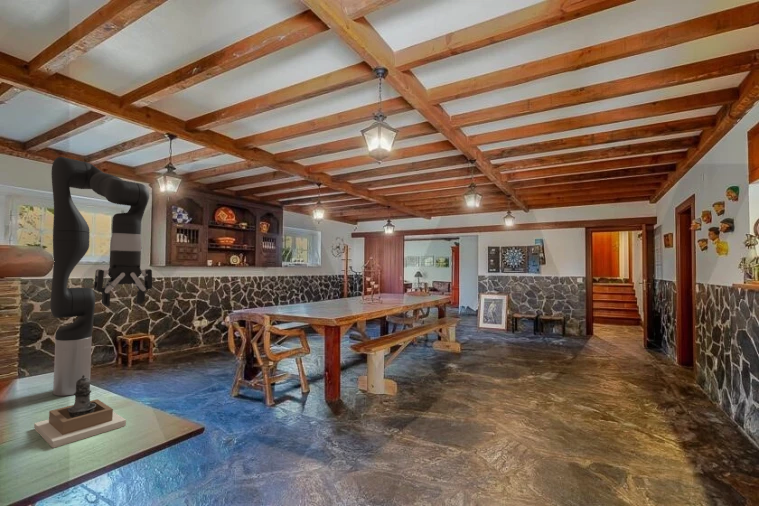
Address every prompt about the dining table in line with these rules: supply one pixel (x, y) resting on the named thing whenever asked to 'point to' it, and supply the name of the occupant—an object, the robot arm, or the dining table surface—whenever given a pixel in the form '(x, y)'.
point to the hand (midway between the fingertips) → (123, 304)
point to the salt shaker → (82, 399)
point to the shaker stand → (77, 424)
